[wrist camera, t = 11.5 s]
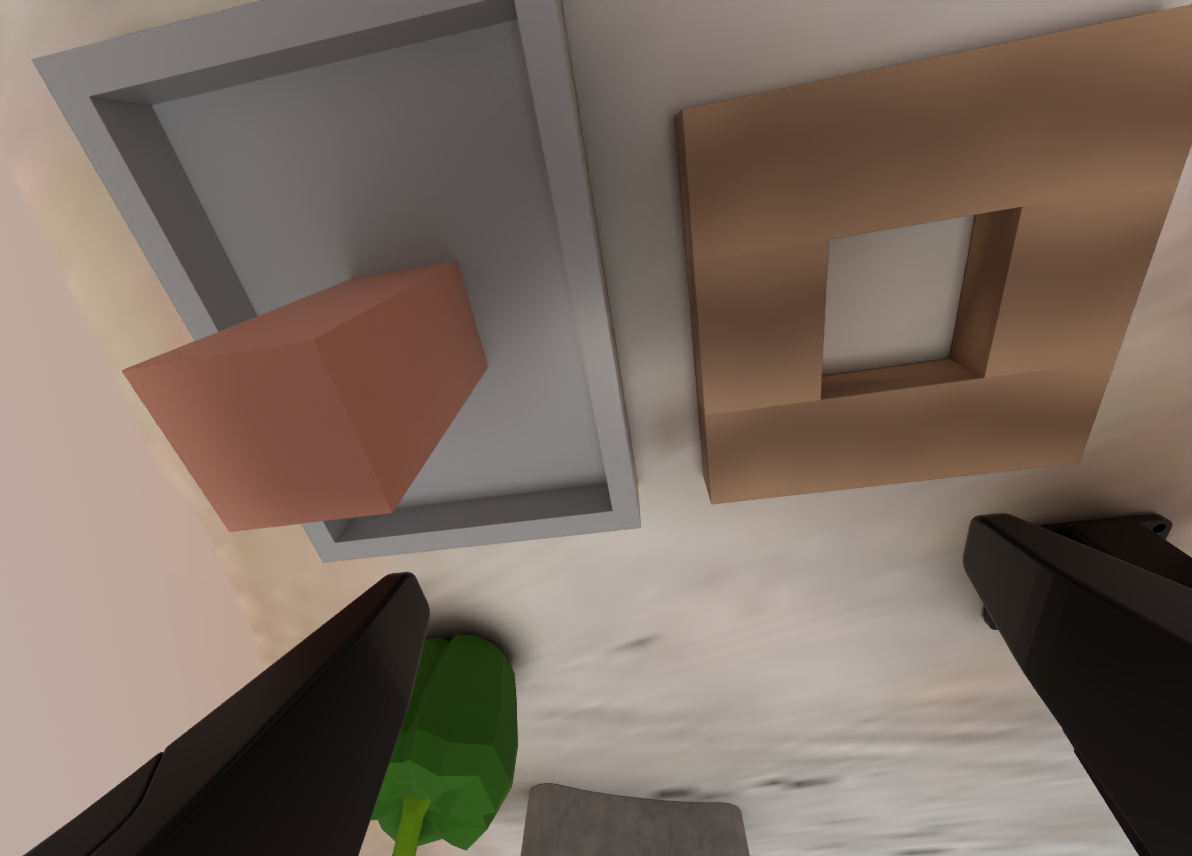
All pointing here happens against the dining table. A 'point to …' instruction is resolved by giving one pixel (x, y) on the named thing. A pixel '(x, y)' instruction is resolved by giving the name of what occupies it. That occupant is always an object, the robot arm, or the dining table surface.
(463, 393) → the brown tall block
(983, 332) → the socket block
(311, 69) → the tray
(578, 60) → the dining table surface
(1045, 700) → the robot arm
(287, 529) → the dining table surface
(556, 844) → the hip flask
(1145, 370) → the dining table surface
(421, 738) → the bell pepper
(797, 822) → the dining table surface
